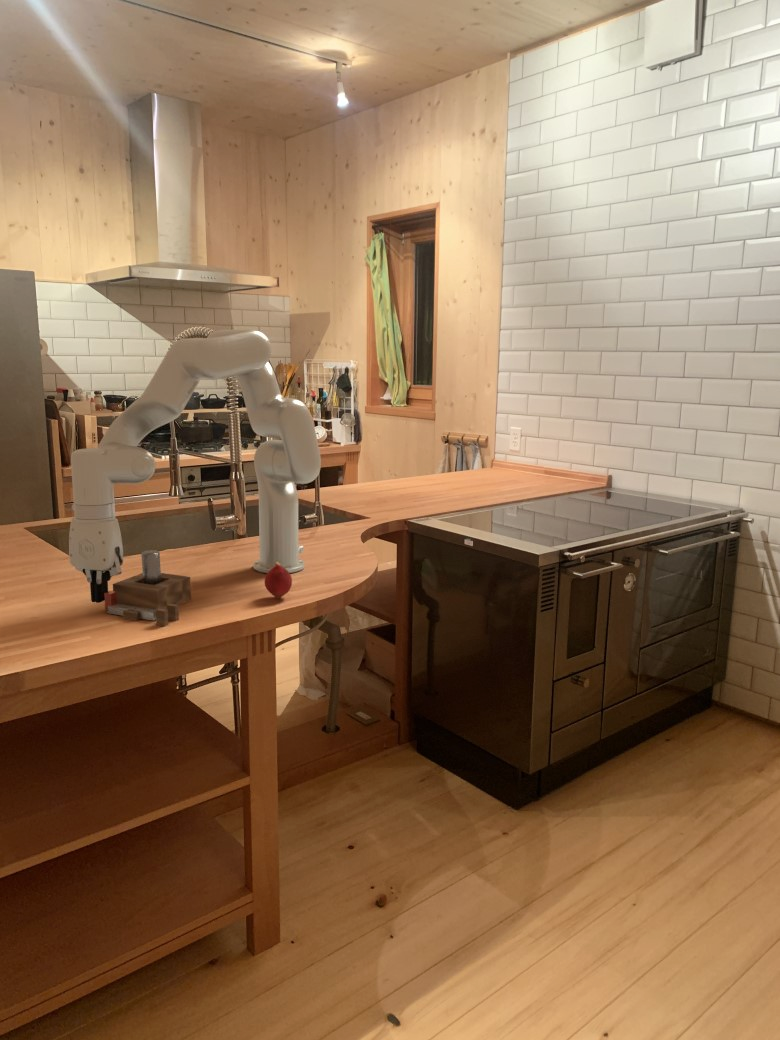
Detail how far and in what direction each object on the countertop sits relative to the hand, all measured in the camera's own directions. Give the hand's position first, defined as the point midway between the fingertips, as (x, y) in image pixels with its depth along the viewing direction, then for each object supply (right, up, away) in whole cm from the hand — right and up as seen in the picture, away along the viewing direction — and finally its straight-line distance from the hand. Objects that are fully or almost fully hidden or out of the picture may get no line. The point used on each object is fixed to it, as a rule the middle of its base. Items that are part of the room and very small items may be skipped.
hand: (100, 600), depth 155 cm
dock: (+10, -2, +3) cm, 11 cm away
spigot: (+9, 0, +6) cm, 11 cm away
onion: (+34, -1, +11) cm, 36 cm away
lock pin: (+7, -3, -2) cm, 8 cm away
